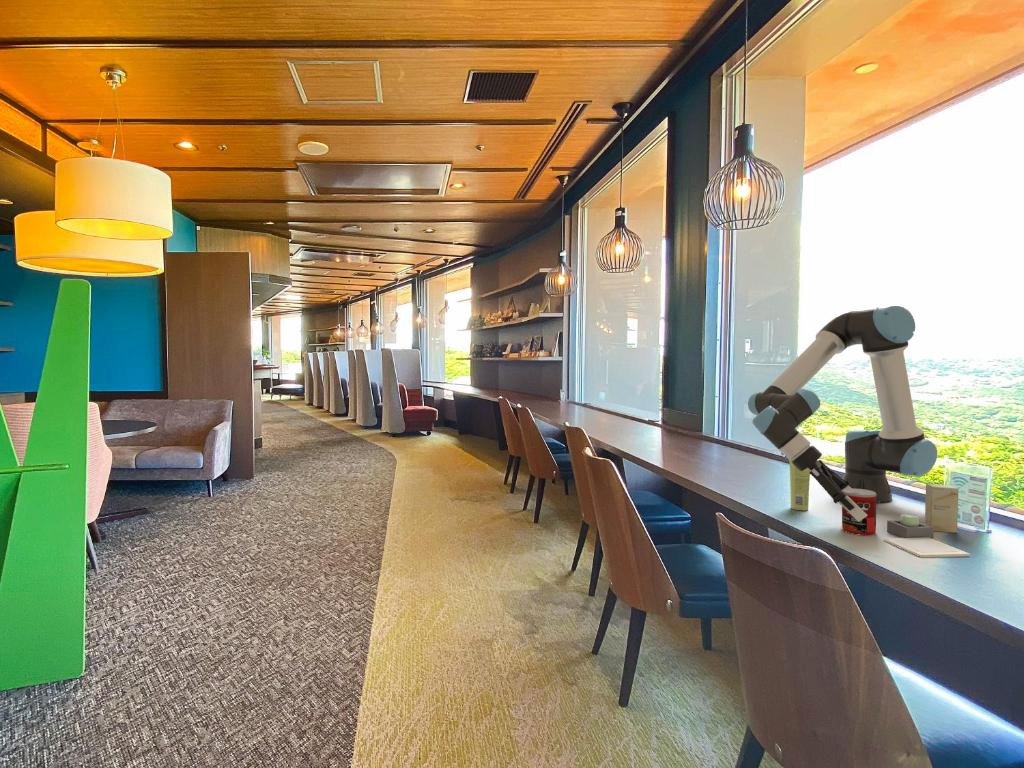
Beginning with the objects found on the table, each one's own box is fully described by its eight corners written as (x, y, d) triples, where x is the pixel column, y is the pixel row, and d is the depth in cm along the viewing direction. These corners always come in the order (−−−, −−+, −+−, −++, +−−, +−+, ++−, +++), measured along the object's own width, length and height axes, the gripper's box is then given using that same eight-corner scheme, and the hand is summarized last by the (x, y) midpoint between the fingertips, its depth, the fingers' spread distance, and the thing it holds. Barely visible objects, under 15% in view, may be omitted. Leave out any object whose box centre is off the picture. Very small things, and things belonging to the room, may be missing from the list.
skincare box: (930, 530, 145) (930, 486, 145) (924, 526, 149) (924, 483, 149) (958, 533, 143) (959, 488, 143) (951, 528, 147) (952, 484, 147)
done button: (911, 525, 144) (911, 514, 144) (922, 529, 140) (922, 518, 140) (896, 525, 144) (896, 514, 144) (907, 530, 140) (908, 518, 140)
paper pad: (928, 539, 138) (928, 537, 138) (969, 556, 126) (969, 553, 126) (883, 540, 138) (883, 538, 138) (920, 557, 126) (920, 554, 126)
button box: (912, 530, 146) (912, 519, 145) (932, 539, 139) (933, 527, 138) (886, 531, 145) (887, 520, 145) (906, 539, 138) (906, 528, 138)
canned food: (835, 529, 148) (835, 490, 147) (854, 525, 151) (854, 487, 150) (863, 537, 141) (863, 496, 140) (882, 533, 144) (883, 492, 143)
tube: (795, 505, 173) (795, 445, 172) (812, 508, 169) (812, 447, 168) (787, 508, 169) (788, 447, 168) (804, 512, 165) (805, 449, 164)
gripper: (795, 454, 164) (852, 510, 157) (785, 468, 144) (850, 532, 136) (815, 439, 161) (874, 494, 154) (807, 450, 141) (875, 515, 133)
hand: (863, 512), depth 145 cm, fingers open, 13 cm apart
